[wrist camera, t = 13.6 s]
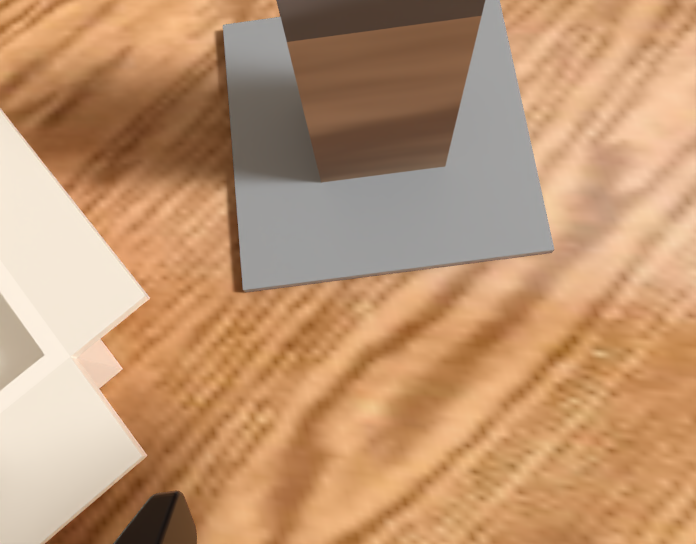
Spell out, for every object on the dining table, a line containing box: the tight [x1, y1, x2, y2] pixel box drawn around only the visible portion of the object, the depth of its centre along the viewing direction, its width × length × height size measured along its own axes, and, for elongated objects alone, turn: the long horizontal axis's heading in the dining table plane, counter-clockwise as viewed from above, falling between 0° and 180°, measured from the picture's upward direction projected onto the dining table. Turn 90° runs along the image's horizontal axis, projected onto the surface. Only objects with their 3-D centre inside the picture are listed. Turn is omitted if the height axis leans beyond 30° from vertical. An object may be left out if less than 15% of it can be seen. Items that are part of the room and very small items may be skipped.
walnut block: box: [277, 0, 485, 183], centre depth 19 cm, size 4×5×12 cm
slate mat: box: [223, 0, 554, 292], centre depth 25 cm, size 12×12×1 cm
